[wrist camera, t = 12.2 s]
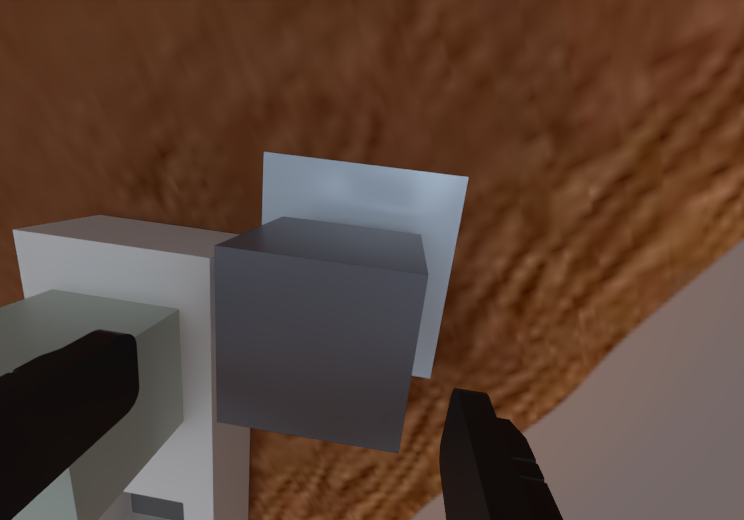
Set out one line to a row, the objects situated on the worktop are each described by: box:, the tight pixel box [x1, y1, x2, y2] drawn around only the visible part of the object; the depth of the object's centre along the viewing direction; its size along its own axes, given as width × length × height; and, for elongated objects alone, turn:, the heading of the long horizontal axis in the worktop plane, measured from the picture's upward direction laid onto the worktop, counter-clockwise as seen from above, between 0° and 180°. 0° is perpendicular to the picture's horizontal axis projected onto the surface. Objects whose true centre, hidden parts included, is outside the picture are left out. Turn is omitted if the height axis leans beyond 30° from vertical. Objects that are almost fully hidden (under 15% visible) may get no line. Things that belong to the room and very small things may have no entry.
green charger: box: [0, 289, 184, 520], centre depth 13 cm, size 5×5×7 cm
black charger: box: [214, 216, 429, 453], centre depth 13 cm, size 5×5×7 cm
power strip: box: [13, 215, 250, 520], centre depth 18 cm, size 26×8×5 cm, turn 173°
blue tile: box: [262, 152, 469, 378], centre depth 17 cm, size 9×10×1 cm
